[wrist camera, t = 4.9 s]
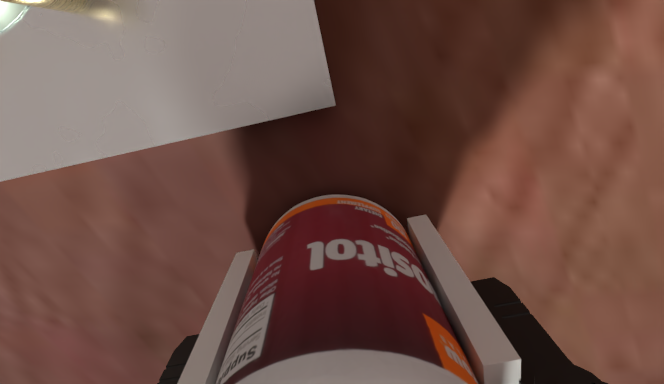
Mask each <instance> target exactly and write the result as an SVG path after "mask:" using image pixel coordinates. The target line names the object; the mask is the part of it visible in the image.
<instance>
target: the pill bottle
mask: <svg viewBox="0 0 664 384" xmlns="http://www.w3.org/2000/svg"><path fill="white" fill-rule="evenodd" d="M216 384H479V383H478V381H477V379H476V377H475V375H474V373H473V371H472V369H471V367H470V365H469V362H468V360H467V358H466V356H465V354H464V352H463V350H462V348H461V346H460V344H459V341H458V339H457V337H456V335H455V333H454V331H453V329H452V326H451V324H450V323H449V321H448V318H447V316H446V314H445V312H444V310H443V308H442V306H441V303H440V301H439V299H438V297H437V295H436V292H435V290H434V289H433V287H432V285H431V283H430V280H429V278H428V276H427V274H426V272H425V270H424V268H423V266H422V264H421V262H420V259H419V257H418V255H417V253H416V251H415V249H414V247H413V244H412V242H411V240H410V238H409V236H408V235H407V233H406V231H405V229H404V228H403V226H402V225H401V224H400V222H399V221H398V220H397V219H396V218H395V217H394V216H393V215H392V214H391V213H390V212H389V211H387V210H386V209H385V208H383V207H382V206H380V205H378V204H377V203H374V202H372V201H370V200H367V199H365V198H361V197H357V196H351V195H339V194H336V195H324V196H319V197H315V198H312V199H309V200H306V201H304V202H302V203H299V204H297V205H296V206H294V207H292V208H291V209H290V210H288V211H287V212H286V213H285V214H284V215H283V216H282V217H281V218H280V219H279V220H278V221H277V222H276V223H275V224H274V226H273V227H272V229H271V230H270V232H269V234H268V236H267V238H266V240H265V242H264V244H263V247H262V249H261V252H260V255H259V258H258V261H257V264H256V267H255V270H254V273H253V276H252V279H251V282H250V285H249V288H248V291H247V293H246V296H245V299H244V302H243V305H242V308H241V310H240V314H239V317H238V319H237V322H236V325H235V329H234V332H233V334H232V337H231V340H230V343H229V346H228V349H227V352H226V355H225V358H224V361H223V364H222V367H221V370H220V373H219V375H218V378H217V381H216Z"/></svg>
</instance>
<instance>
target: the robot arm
mask: <svg viewBox="0 0 664 384" xmlns="http://www.w3.org/2000/svg"><path fill="white" fill-rule="evenodd" d="M407 223H408V230H409V237H410V240H411V242H412V244H413V247H414V249H415V251H416V253H417V255H418V257H419V259H420V262H421V264H422V266H423V268H424V270H425V272H426V274H427V276H428V278H429V280H430V283H431V285H432V287H433V289H434V290H435V292H436V295H437V297H438V299H439V301H440V303H441V306H442V308H443V310H444V312H445V314H446V316H447V318H448V321H449V323H450V324H451V326H452V329H453V331H454V333H455V335H456V337H457V339H458V341H459V344H460V346H461V348H462V350H463V352H464V354H465V356H466V358H467V360H468V362H469V365H470V367H471V369H472V371H473V373H474V375H475V377H476V379H477V381H478V383H479V384H608V383H605V382H602V381H601V380H600V379H598V378H597V377H596V376H595V375H593V374H592V373H591V372H589V371H587V370H584V369H582V368H580V367H578V366H576V365H574V364H573V363H572V362H571V361H570V360H569V359H568V358H567V357H566V356H565V354H564V353H563V352H562V351H561V350H560V348H559V347H558V346H557V345H556V343H555V342H554V341H553V340H552V339H551V337H550V336H549V335H548V334H547V332H546V331H545V330H544V329H543V327H542V326H541V325H540V324H539V323H538V321H537V320H536V319H535V318H534V316H533V315H532V314H530V312H529V310H528V309H527V308H526V307H525V305H524V304H523V303H521V301H520V299H519V298H518V297H517V296H516V294H515V293H514V292H513V291H512V289H511V288H510V287H509V286H507V285H505V284H504V283H502V282H500V281H499V280H497V279H496V278H494V277H493V278H488V279H483V280H477V281H472V282H470V281H469V279H468V278H467V276H466V275H465V273H464V271H463V270H462V268H461V267H460V265H459V264H458V262H457V261H456V259H455V258H454V256H453V255H452V253H451V252H450V250H449V249H448V247H447V246H446V244H445V243H444V241H443V240H442V238H441V236H440V235H439V233H438V232H437V230H436V229H435V227H434V226H433V224H432V223H431V221H430V220H429V218H428V217H427V215H426V214H425V215H420V216H415V217H411V218H407ZM257 261H258V258H257V255H256V253H255V250H254V249H253V250H249V251H244V252H239V253H236V255H235V257H234V259H233V261H232V264H231V266H230V268H229V270H228V272H227V275H226V277H225V279H224V281H223V283H222V286H221V288H220V290H219V292H218V295H217V297H216V299H215V301H214V303H213V306H212V308H211V310H210V312H209V315H208V317H207V319H206V321H205V323H204V326H203V328H202V330H201V332H200V334H198V335H192V336H187V337H186V338H185V339H184V340H183V342H182V343H181V344H180V345H179V346H178V347H177V348H176V349H175V351H174V352H173V354H172V356H171V358H170V360H169V362H168V364H167V366H166V370H164V372H163V374H162V376H161V377H160V379H159V380H160V382H159V383H157V384H216V381H217V378H218V375H219V373H220V370H221V367H222V364H223V361H224V358H225V355H226V352H227V349H228V346H229V343H230V340H231V337H232V334H233V332H234V329H235V325H236V322H237V319H238V317H239V314H240V310H241V308H242V305H243V302H244V299H245V296H246V293H247V291H248V288H249V285H250V282H251V279H252V276H253V273H254V270H255V267H256V264H257Z"/></svg>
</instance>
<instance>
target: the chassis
mask: <svg viewBox="0 0 664 384" xmlns="http://www.w3.org/2000/svg"><path fill="white" fill-rule="evenodd" d="M331 106H336V104H335V99H334V94H333V89H332V85H331V80H330V75H329V70H328V65H327V61H326V56H325V51H324V46H323V42H322V37H321V32H320V27H319V22H318V18H317V13H316V8H315V3H314V0H0V181H5V180H9V179H14V178H18V177H22V176H27V175H31V174H36V173H40V172H44V171H49V170H53V169H58V168H62V167H67V166H71V165H75V164H80V163H84V162H89V161H93V160H97V159H102V158H106V157H111V156H115V155H119V154H124V153H128V152H133V151H137V150H142V149H146V148H150V147H155V146H159V145H164V144H168V143H172V142H177V141H181V140H186V139H190V138H195V137H199V136H203V135H208V134H212V133H217V132H221V131H225V130H230V129H234V128H239V127H243V126H248V125H252V124H256V123H261V122H265V121H270V120H274V119H278V118H283V117H287V116H292V115H296V114H300V113H305V112H309V111H314V110H318V109H323V108H327V107H331Z"/></svg>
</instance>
